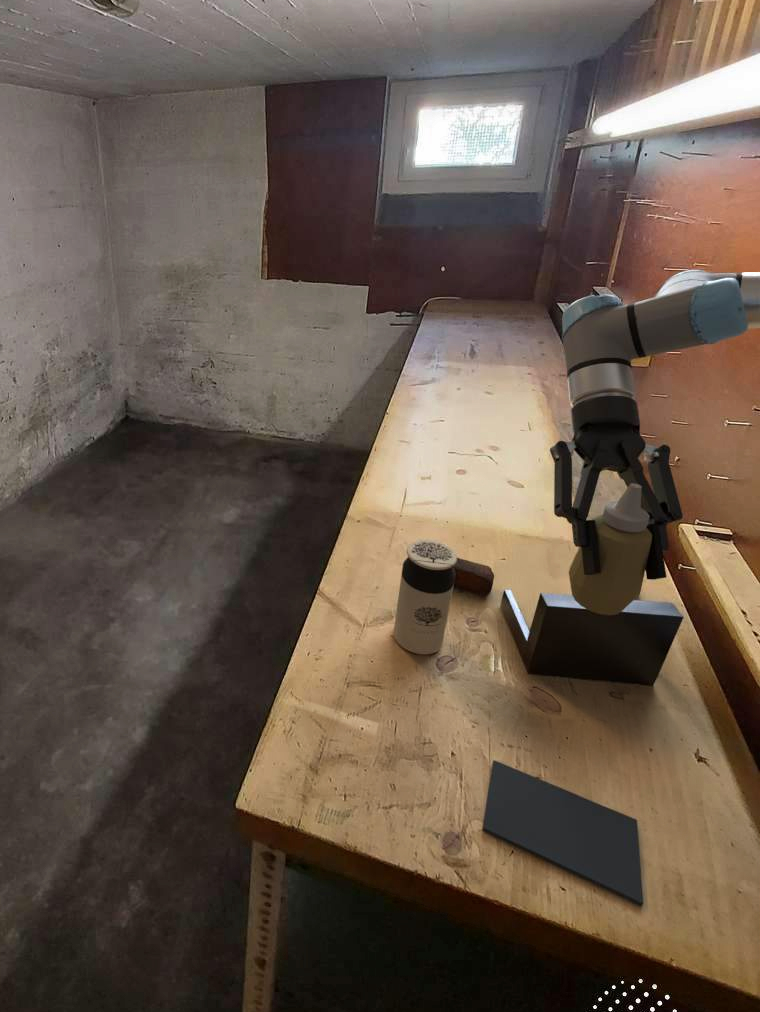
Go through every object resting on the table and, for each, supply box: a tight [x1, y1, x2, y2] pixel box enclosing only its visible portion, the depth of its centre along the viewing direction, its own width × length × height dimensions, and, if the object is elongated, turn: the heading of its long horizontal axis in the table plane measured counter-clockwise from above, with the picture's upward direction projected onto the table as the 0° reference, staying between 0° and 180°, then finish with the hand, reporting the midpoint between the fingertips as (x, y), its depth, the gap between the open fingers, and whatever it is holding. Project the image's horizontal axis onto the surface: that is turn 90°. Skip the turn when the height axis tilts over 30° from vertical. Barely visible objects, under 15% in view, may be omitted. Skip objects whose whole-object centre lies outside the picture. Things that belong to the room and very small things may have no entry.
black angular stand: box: [499, 589, 684, 687], centre depth 91 cm, size 16×18×14 cm
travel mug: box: [393, 539, 458, 655], centre depth 92 cm, size 8×8×18 cm
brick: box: [453, 557, 495, 597], centre depth 107 cm, size 11×4×5 cm, turn 61°
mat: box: [481, 759, 644, 907], centre depth 68 cm, size 16×10×1 cm, turn 60°
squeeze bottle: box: [568, 483, 652, 615], centre depth 72 cm, size 8×8×18 cm
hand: (624, 575), depth 69 cm, fingers closed on squeeze bottle, 6 cm apart
